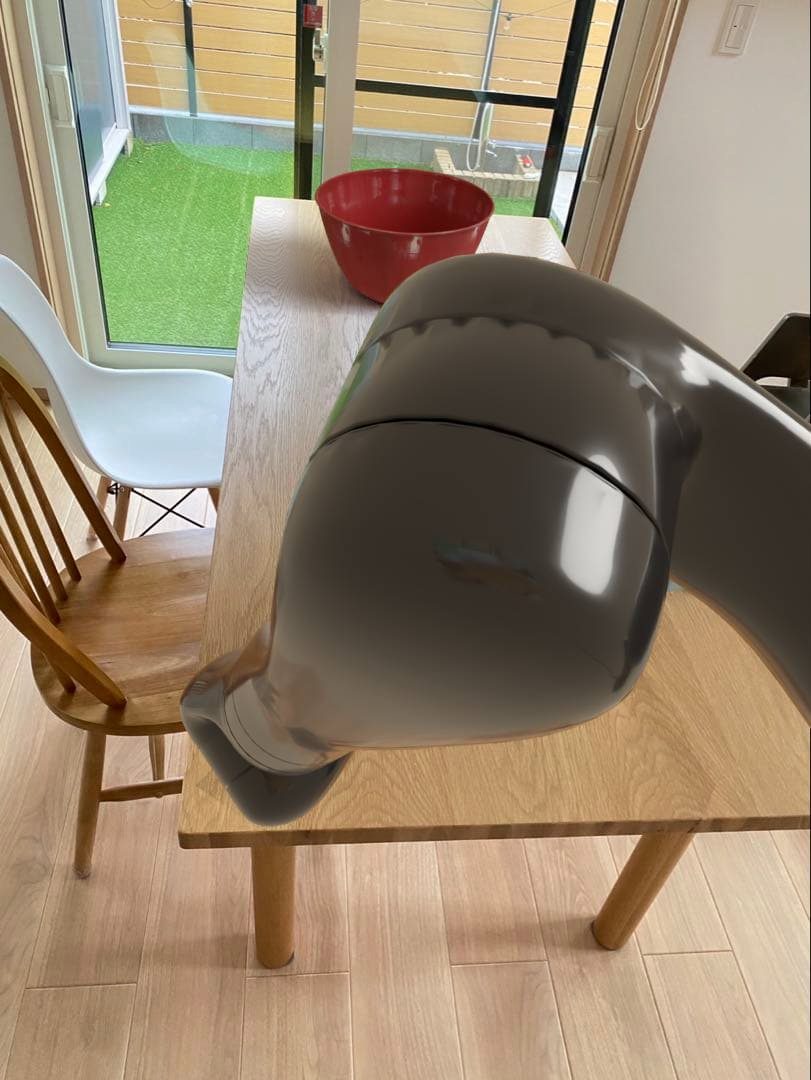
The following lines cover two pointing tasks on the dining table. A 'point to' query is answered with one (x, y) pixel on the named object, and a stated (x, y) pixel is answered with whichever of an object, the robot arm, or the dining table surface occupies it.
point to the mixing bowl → (399, 223)
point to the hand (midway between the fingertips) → (586, 503)
